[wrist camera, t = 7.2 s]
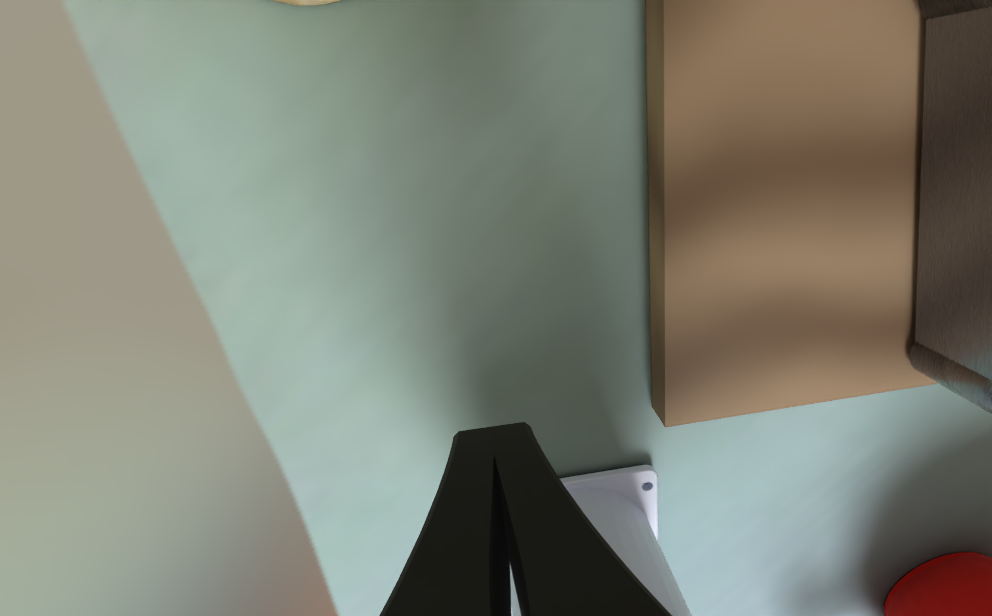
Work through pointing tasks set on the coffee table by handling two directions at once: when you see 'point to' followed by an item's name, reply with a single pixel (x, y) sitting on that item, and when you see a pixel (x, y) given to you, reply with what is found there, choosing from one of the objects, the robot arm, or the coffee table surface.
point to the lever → (956, 201)
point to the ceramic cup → (945, 588)
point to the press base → (782, 201)
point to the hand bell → (306, 2)
